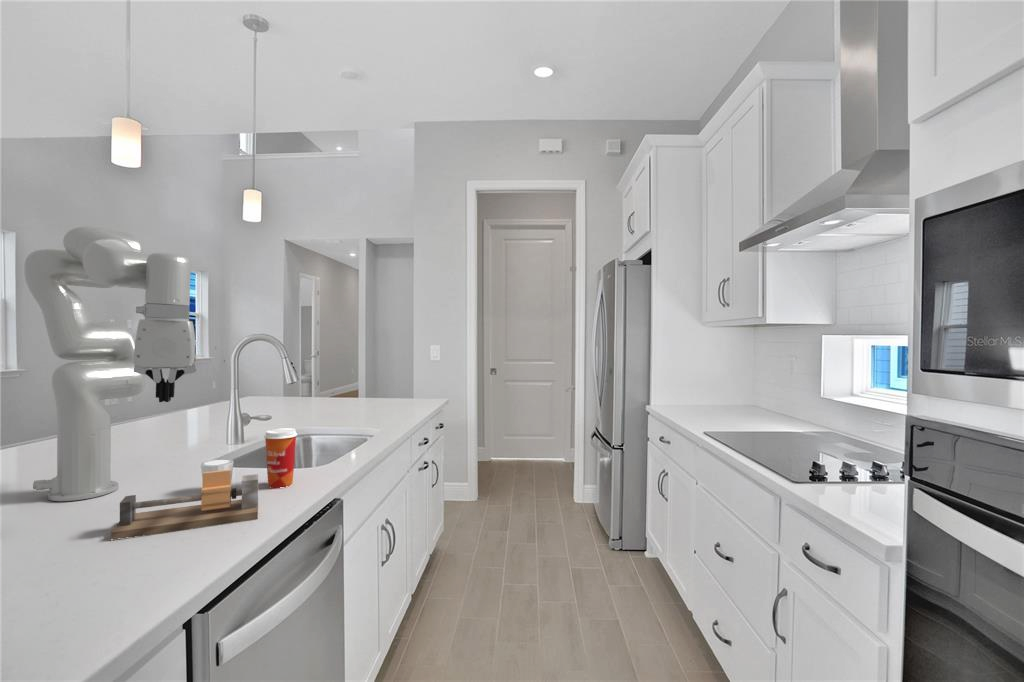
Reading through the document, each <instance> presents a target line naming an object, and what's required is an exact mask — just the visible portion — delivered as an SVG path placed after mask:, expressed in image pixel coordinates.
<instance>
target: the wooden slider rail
mask: <svg viewBox="0 0 1024 682" xmlns="http://www.w3.org/2000/svg"><path fill="white" fill-rule="evenodd" d="M240 496H241V498H240V499H237V497H240ZM230 497H231V504H230V507H225V508H218V509H211V510H203V511H201V504H196V505H195V504H194V505H188V506H180V507H172V508H165V509H158V510H156V509H155V510H149V511H142V512H137V511H136V510H137V509H145V508H146V509H147V508H153V507H159V506H160V507H162V506H167V505H177V504H184V503H193V502H199V501H201V502H202V494H195V495H185V496H179V497H178V496H177V497H169V498H161V499H153V500H152V499H151V500H146V501H145V500H144V501H136V500H137V494H131V495H126V496H124V497H123V499H122V500H121V501H120V502H119V521H118V523H117V524H116V525H115V526H114V528H113V529H112V530H111V532H110V540H111V539H118V538H125V539H127V538H126V537H132V538H136V537H135V536H139V537H144V536H143V535H146V536H150V535H151V534H152V535H157V534H158V533H159V534H165V533H164V532H166V533H172V531H173V532H177V531H179V532H180V531H184V530H185V529H186V530H191V529H190V528H193V529H198V527H200V528H206V526H207V527H212V526H220V525H225V524H226V523H227V524H232V523H233V522H234V523H239V522H240V521H241V522H246V521H253V520H258V518H259V517H258V516H259V512H258V511H259V474H258V473H257V474H248V475H242V478H241V489H237V487H233V488H232V487H231V491H230ZM241 522H240V523H241ZM219 524H220V525H219ZM118 540H119V539H118Z"/></svg>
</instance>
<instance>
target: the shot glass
mask: <svg viewBox="0 0 1024 682" xmlns="http://www.w3.org/2000/svg"><path fill="white" fill-rule="evenodd" d="M200 469H201V477H202V479H201V480H202V481H203V472H211V471H221V470H230V469H231V482H232V480H233V479H232V478H233V470H234V460H233V459H228V458H224V459H223V458H220V459H212V460H207V461H205V462H201V464H200Z"/></svg>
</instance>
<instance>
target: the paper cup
mask: <svg viewBox="0 0 1024 682" xmlns="http://www.w3.org/2000/svg"><path fill="white" fill-rule="evenodd" d="M297 436H298V433H297V431H296V428H291V427H289V428H288V427H282V428H281V427H279V428H275V429H270V430H266V431H265V435H264V436H263V438H264V439H265V452H266V453H265V456H266V457H265V458H266V471H267V484H268V488H270V487H271V488H270V489H281V488H280V487H284V488H287V487H286V486H288V487H290V485H291V484H292V485H293V481H294V472H295V471H294V467H295V457H296V456H295V454H296V443H297V442H296V441H297V440H296V439H297ZM292 485H291V486H292Z"/></svg>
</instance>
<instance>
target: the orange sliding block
mask: <svg viewBox="0 0 1024 682" xmlns="http://www.w3.org/2000/svg"><path fill="white" fill-rule="evenodd" d="M230 491H232V481H231V469H230V470H221V471H211V472H203V480H202V488H201V495H202V500H201V502H200V503H201V504H200V505H201V511H203V510H211V509H218V508H225V507H230V504H231V501H232V497H230Z"/></svg>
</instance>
